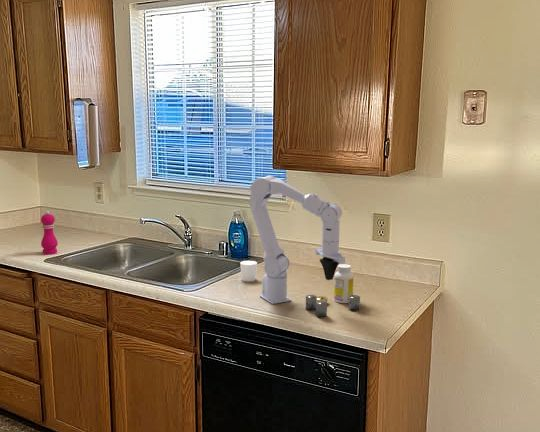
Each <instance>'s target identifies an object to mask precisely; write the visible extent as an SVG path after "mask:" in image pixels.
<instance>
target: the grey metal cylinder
mask: <svg viewBox="0 0 540 432" xmlns="http://www.w3.org/2000/svg"><path fill="white" fill-rule="evenodd" d="M360 306H361V296H360V295H356V294H353V295H351V296H349V303H348V310H349V311H351V312H359V311H360V309H361V307H360Z"/></svg>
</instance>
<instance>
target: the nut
mask: <svg viewBox="0 0 540 432" xmlns="http://www.w3.org/2000/svg"><path fill="white" fill-rule="evenodd" d="M316 296H317V295H316ZM318 301H324V302H327V303H328V297H327V296H324V295H318V296H317V300H316V302H318Z"/></svg>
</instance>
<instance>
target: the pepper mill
mask: <svg viewBox="0 0 540 432" xmlns="http://www.w3.org/2000/svg"><path fill="white" fill-rule="evenodd" d="M55 221H56V217H55V216H54V215H53V214H51V213H50V211H49V210H46V211H45V213H44V215H42V216H41V217H40V222H41V224H42V225H41V226H42V229H43V236H42V239H41V242H40V246H41V247H42V248H43V249H42V254H43V255H50V256H51V255H55V254H57V253H58V249H57V246H58V245H59V242H58V239H57V238H56V235H55V234H54V228H55Z"/></svg>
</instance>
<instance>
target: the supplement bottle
mask: <svg viewBox="0 0 540 432" xmlns="http://www.w3.org/2000/svg"><path fill="white" fill-rule="evenodd" d="M336 270H337V271H335V273H334V277H333V279H334V284H333V285H334V287H333V300H334V301H335V302H337V303H338V304H339V303H340V304H349V296H351V295H354V274H353V272H351V270H352V266H351V265H350V264H348V263H347V264H346V263H344V264H339V265H338V266H337V268H336Z"/></svg>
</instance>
